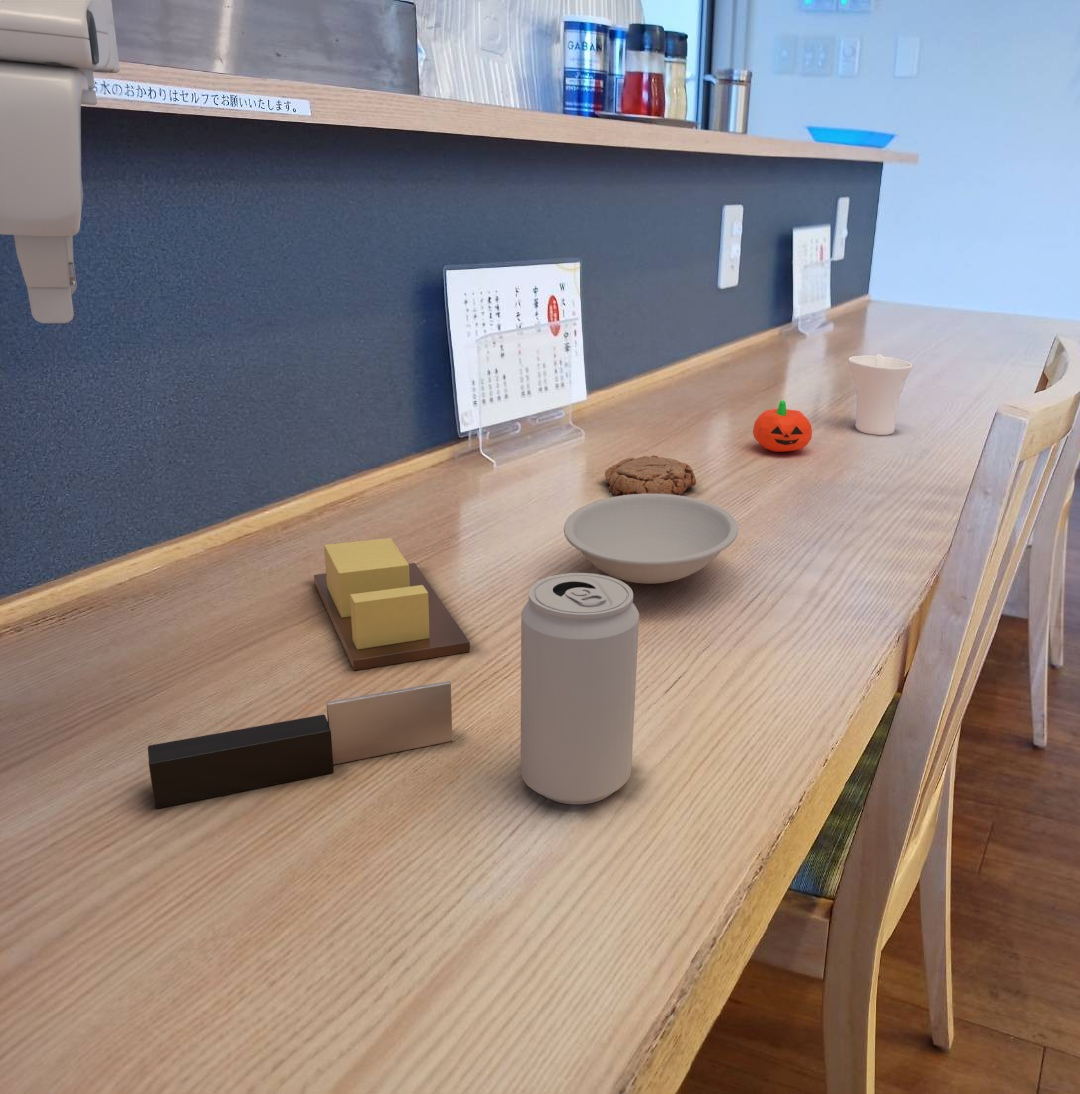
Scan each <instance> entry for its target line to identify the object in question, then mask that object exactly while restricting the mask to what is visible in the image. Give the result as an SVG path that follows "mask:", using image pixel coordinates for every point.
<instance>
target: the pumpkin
mask: <svg viewBox="0 0 1080 1094" xmlns="http://www.w3.org/2000/svg"><path fill="white" fill-rule="evenodd" d="M752 435H753V437H754V439H755V441H756V442H757V443H758V444H759V445H760V446H761V447H762V448H765V449H766V450H768V451H770V452H773V453H776V452H777V453H781V452H793V451H797V450H804V448H806V446H808V444H809V443H810V441H811V440H812V438H813V429H812V425H811V422H810V420H809V419H808V418H807V417H806V416H805V414H804V413H803V412H802V411H801V410H795V409H789V408H787V404H786V401H785V400H782V399H781V400H780V401H779V404H778V407H777V408H773V409H767V410H765V411H763V412H762V413H760V415H758V416H757V418H756V420H755V421H754V424H753V429H752Z"/></svg>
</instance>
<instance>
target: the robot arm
mask: <svg viewBox="0 0 1080 1094" xmlns="http://www.w3.org/2000/svg"><path fill="white" fill-rule="evenodd" d="M116 36H117V35H116V27H115V19H114V10H113V2H112V0H0V235H5V236H6V235H7V236H13V239H14V245H15V253H16V257H17V260H18V263H19V266H20V267H19V268H20V269H21V273H22V276H23V280H24V282H25V286H26V288H27V294H28V301H29V306H30V312H31V316H32V318H33V319H34V321H36V322H38V323H40V324H68V323H70V322H71V321H72V320H74V316H75V311H74V302H73V295H74V294H75V293H76V290H77V287H78V284H77V276H76V270H75V269H76V268H75V262H74V240H73V239H74V238H73V237H74V236H76V235H77V234H78V233H79V232H80V229H81V219H82V210H83V204H84V187H83V181H82V121H81V119H82V115H81V114H82V113H81V112H82V111H81V110H82V105H87V106H89V105H90V106H96V105H97V104H98V101H97V92H96V91H95V88H96V85H95V78H94V73H101V74H102V73H104V74H117V73H120V71H121V68H120V67H121V66H120V59H119V53H118V44H117V37H116Z"/></svg>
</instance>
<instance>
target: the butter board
mask: <svg viewBox="0 0 1080 1094" xmlns="http://www.w3.org/2000/svg"><path fill="white" fill-rule="evenodd" d="M408 564H409V581H410V587H411V586H418V585H423V586H424V588H425V589H426V590H427V592H428V605H429V638H428V639H422V640H416V641H409V642H403V643H397V644H390V645H384V646H378V647H371V648H365V649H358V650H357V648H356V646H355V644H354V642H353V638H352V622H351V617H344V618H342V617H341V615H340V613H339V611H338V609H337V607H336V605H335V603H334V601H333V599H332V597H331V595H330V592H329V590H328V588H327V579H326V572H325V573H317V574H314V575H313V583H314V586H315V588H316V590H317V592H318V594H319V596H320V599H321V601H322V603H323V606H324V608H325V610H326V613H327V615H328V617H329V619H330V621H331V624H332V625H333V627H334V630H335V632H336V633H337V634H336V635H337V636H338V639H339V641H340V643H341V644H342V647H343V649H344V653H345V654H346V656H347V658H348V660H349V663H350V665H351V667H352V669H353V671H359V670H365V669H371V668H378V667H385V666H391V665H396V664H403V663H409V662H415V661H421V660H428V659H433V658H439V657H446V656H451V655H457V654H463V653H470V652H471V642H470V640H469V639H468V637H467V636H466V634H465V633H464V632H463V630H462V629H461V627H460V626H459V624H458V623H457V621H456V620H455V619H454V617H453V616H452V614H451V613H450V610H448V609H447V607H446V606H445V604H444V603H443V601H442V600H441V598H440V597H439V595H438V594H437V593H436V591H435V590H434V588H433V587H432V585H431V583H429V581H428V580H427V578H426V576H425V575H424V573H422V571H421V569H420V568H419V567H418V565H417V564H416V562H410V563H408Z"/></svg>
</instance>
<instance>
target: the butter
mask: <svg viewBox="0 0 1080 1094" xmlns="http://www.w3.org/2000/svg"><path fill="white" fill-rule="evenodd" d="M323 548H324V562H325V573H326V579H327V588H328V590H329V592H330V595H331V597H332V599H333V601H334V603H335V605H336V607H337V609H338V611H339V613H340V615H341V617H342V618H344V617H351V605H350V594H357V593H365V592H373V591H380V590H388V589H395V588H403V587H410V581H409V564H410V563H408V561H407V560H406V559H405V557H404V555H403V554H402V553H401V551H400V550H399V548H398V546H397V545H396V544H395V542H394V541H393V539H392V538H391V537H386V538H378V539H377V538H376V539H368V540H359V541H358V540H357V541H350V542H349V541H347V542H339V543H329V544H324V545H323Z"/></svg>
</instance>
